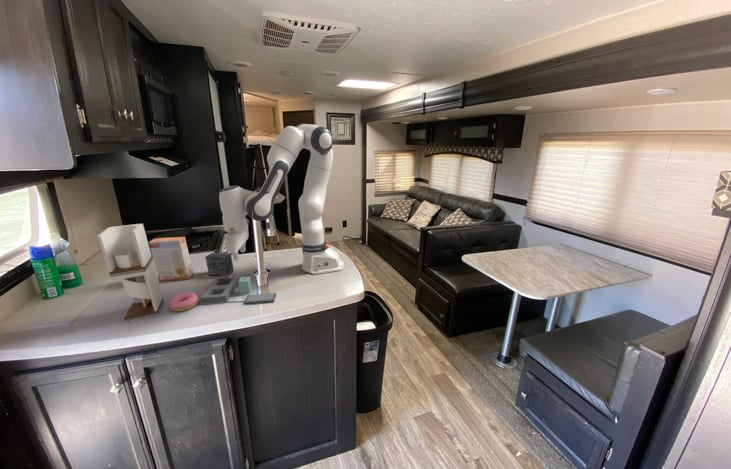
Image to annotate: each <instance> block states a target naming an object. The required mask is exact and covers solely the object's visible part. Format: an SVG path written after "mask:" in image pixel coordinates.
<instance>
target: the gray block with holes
mask: <svg viewBox="0 0 731 469" xmlns="http://www.w3.org/2000/svg"><path fill="white" fill-rule="evenodd" d="M239 280H240V278H239V276H231V277H230V275H221V276H218V277H216V278H215V280H214V281H213V282H212V283H211V285H210V286H209V287H208V288H207V290H206V291H205V292H204V294H202V296H201V297H200V300H201V304H202V305H207V304H221V303H222V304H223V303H228V302H227V301H230V298H231V297H232V295H233V293H234V291H235V290H236V288H237V287H238V286H239V282H238V281H239Z"/></svg>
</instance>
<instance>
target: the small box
mask: <svg viewBox="0 0 731 469" xmlns="http://www.w3.org/2000/svg"><path fill="white" fill-rule="evenodd" d="M232 257H233V256H232V254H227V252H211V253H209V254H208V255H207V256H205V257H204V258H205V263H206V266H207V272H208V276H210V277H211V276H212V277H216V276H217V277H220V276H221V275H229V276H230V275H231V274H232V273H234V272H233V271H235V270H234V264H233V258H232Z"/></svg>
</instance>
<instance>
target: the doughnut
mask: <svg viewBox="0 0 731 469" xmlns="http://www.w3.org/2000/svg"><path fill="white" fill-rule="evenodd" d="M198 302H199V296H198V295H197V294H196V293H193V292H184V293H180V294H177V295H176V296H174V297H172V298H171V299H170V300H169V301H168V303H167V307H168V309H169V310H170V311H172V312H176V313H178V312H179V313H180V312H185V311H188V310H190V309H193V308H194V307H195V306H196V305H197V304H198Z"/></svg>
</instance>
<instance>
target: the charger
mask: <svg viewBox="0 0 731 469" xmlns="http://www.w3.org/2000/svg"><path fill="white" fill-rule="evenodd" d="M238 282H239V284H238V287H239V292H240V295H251V293H252V290H253V286H252V280H251V276H240V278H239V281H238Z"/></svg>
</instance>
